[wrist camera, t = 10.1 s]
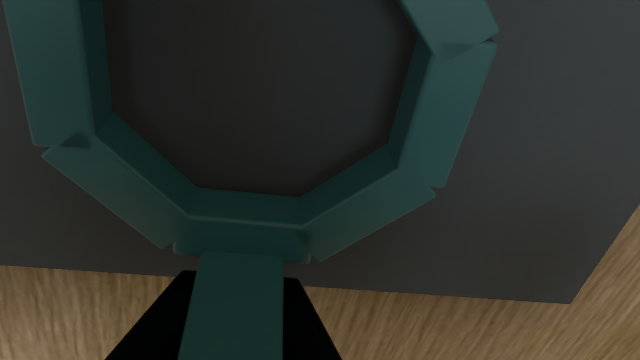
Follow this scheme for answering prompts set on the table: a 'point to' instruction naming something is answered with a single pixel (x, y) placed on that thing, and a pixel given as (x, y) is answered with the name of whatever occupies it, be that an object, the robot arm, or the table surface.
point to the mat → (355, 139)
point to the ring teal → (235, 206)
